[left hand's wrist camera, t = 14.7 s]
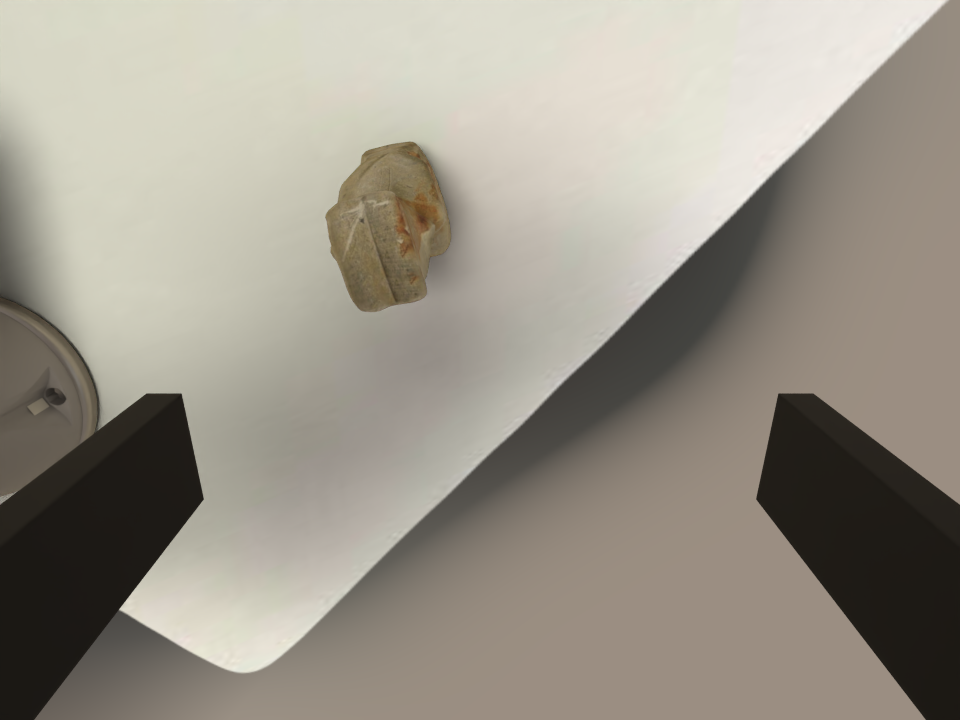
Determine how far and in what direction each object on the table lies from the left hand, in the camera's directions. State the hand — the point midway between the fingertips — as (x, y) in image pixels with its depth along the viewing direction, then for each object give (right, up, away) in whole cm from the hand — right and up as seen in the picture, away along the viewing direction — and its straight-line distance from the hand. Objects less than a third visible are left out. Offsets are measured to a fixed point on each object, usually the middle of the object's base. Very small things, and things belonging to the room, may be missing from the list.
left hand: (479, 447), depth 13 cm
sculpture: (-5, +13, +25) cm, 28 cm away
